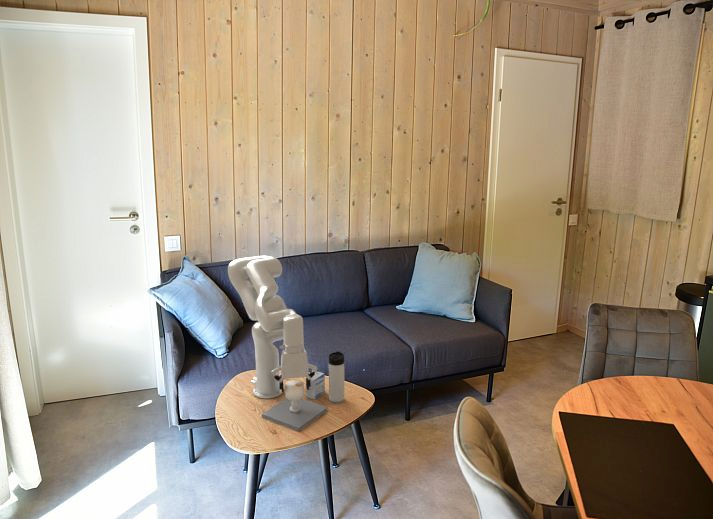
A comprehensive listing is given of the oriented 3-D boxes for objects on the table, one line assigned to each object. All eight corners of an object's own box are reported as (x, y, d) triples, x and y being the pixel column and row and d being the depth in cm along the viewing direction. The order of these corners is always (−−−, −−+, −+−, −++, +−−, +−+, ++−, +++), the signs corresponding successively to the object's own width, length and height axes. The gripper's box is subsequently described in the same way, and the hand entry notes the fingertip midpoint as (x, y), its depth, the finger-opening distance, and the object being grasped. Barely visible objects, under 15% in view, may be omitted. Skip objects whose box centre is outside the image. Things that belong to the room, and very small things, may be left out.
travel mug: (346, 397, 224) (346, 351, 219) (342, 405, 218) (342, 358, 213) (331, 395, 225) (331, 350, 221) (327, 403, 219) (326, 356, 214)
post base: (261, 417, 208) (261, 400, 206) (292, 398, 223) (291, 382, 221) (298, 431, 198) (298, 413, 197) (327, 410, 213) (327, 393, 211)
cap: (281, 397, 208) (281, 383, 206) (293, 390, 213) (293, 377, 212) (295, 402, 204) (295, 388, 203) (307, 394, 210) (307, 381, 208)
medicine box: (314, 400, 222) (314, 380, 219) (305, 397, 224) (305, 378, 222) (325, 392, 228) (325, 373, 226) (316, 389, 230) (316, 370, 228)
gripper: (270, 353, 199) (272, 396, 202) (318, 349, 202) (319, 391, 206) (269, 345, 206) (271, 387, 209) (315, 342, 209) (316, 383, 213)
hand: (295, 389), depth 208 cm, fingers open, 9 cm apart
